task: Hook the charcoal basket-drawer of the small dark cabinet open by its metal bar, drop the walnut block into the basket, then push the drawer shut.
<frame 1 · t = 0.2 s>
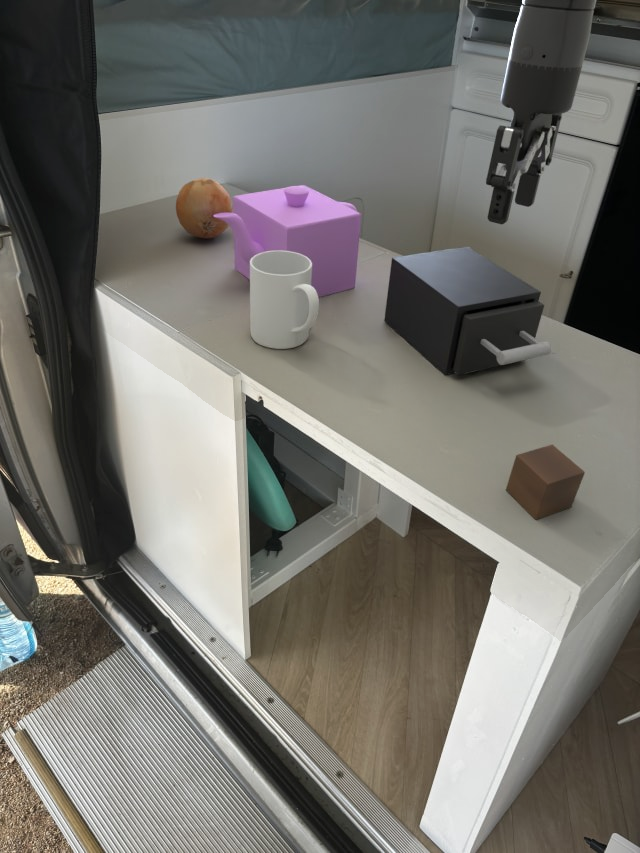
hand: (510, 213, 78), 19 cm above the table, tool pointing down, fingers open, 8 cm apart
teapot: (287, 280, 104), on the table
block: (538, 498, 65), on the table
mug: (287, 343, 88), on the table
drawer: (478, 323, 85), point 5 cm above the table, slide at 0.5 cm
onion: (206, 237, 117), on the table
cabinet: (451, 338, 91), on the table
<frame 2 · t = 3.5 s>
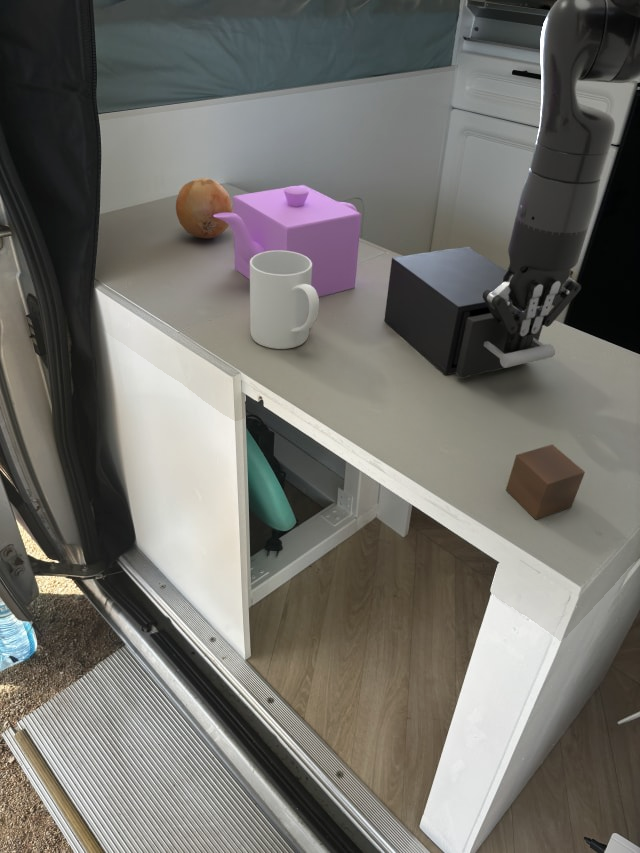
hand: (514, 357, 80), 4 cm above the table, tool pointing down, fingers closed
drawer: (481, 325, 84), point 5 cm above the table, slide at 1.2 cm, touching gripper
everything else where it was.
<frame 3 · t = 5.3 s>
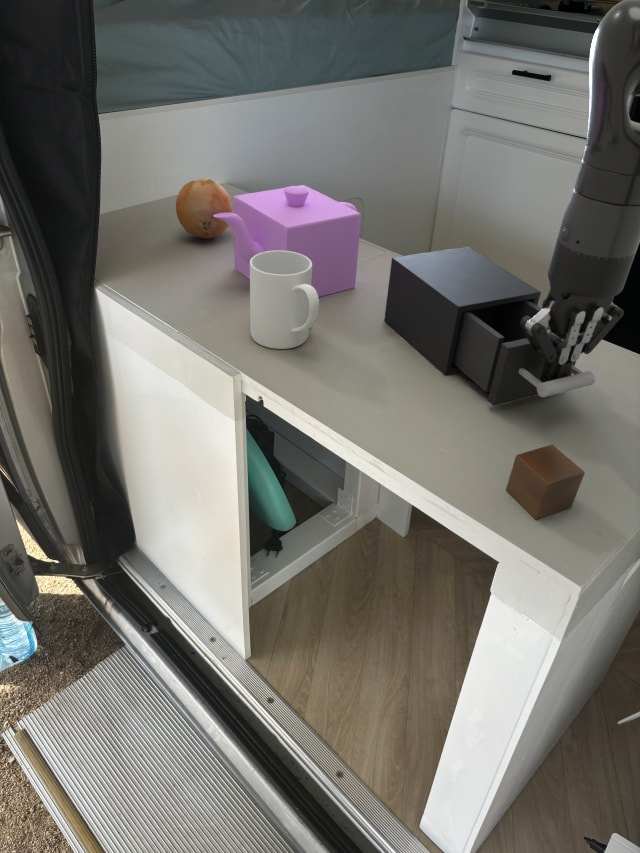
hand: (551, 386, 75), 4 cm above the table, tool pointing down, fingers closed
drawer: (513, 349, 79), point 5 cm above the table, slide at 7.7 cm
everything else where it was.
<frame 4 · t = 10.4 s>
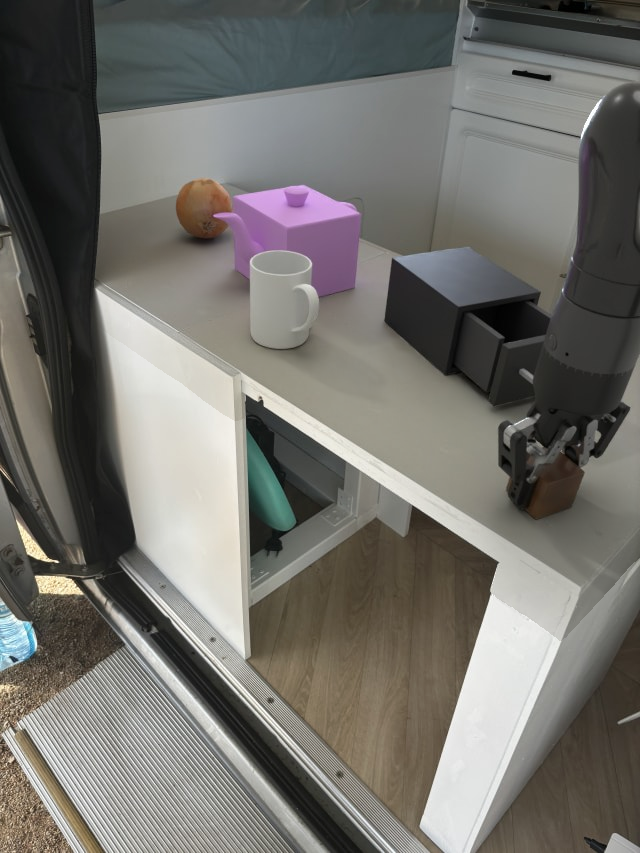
hand: (539, 495, 65), 0 cm above the table, tool pointing down, fingers closed on block, 4 cm apart
block: (538, 498, 65), on the table, touching gripper
everything else where it was.
when the fingers open (8 cm above the table, at t = 15.5 s): block drops 6 cm, resting on drawer.
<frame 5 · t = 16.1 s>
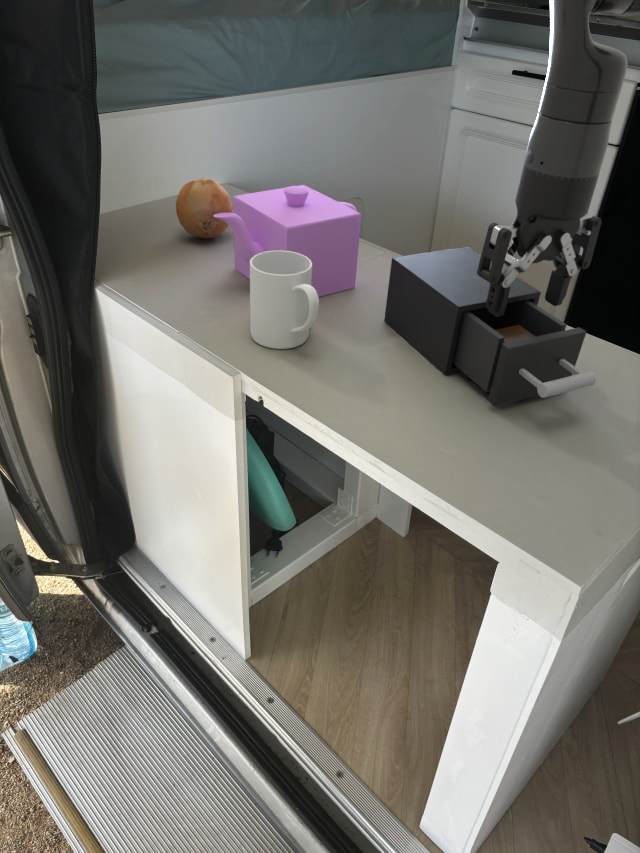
hand: (524, 308, 76), 10 cm above the table, tool pointing down, fingers open, 8 cm apart
block: (507, 368, 81), point 2 cm above the table, touching drawer
drawer: (514, 349, 79), point 5 cm above the table, slide at 7.8 cm, touching block
everything else where it was.
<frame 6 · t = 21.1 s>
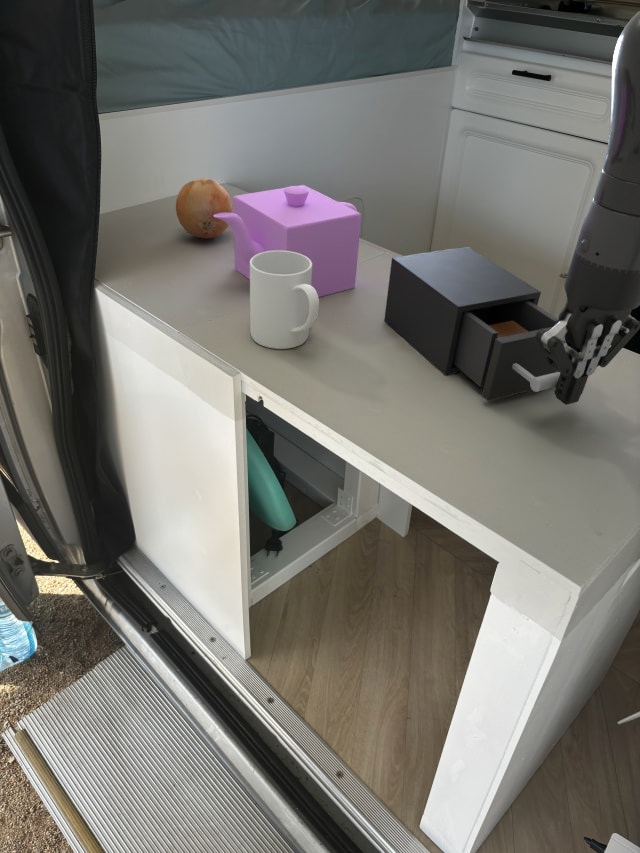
hand: (566, 399, 73), 4 cm above the table, tool pointing down, fingers closed
block: (501, 363, 82), point 2 cm above the table, touching drawer
drawer: (507, 345, 80), point 5 cm above the table, slide at 6.6 cm, touching block, gripper
everything else where it was.
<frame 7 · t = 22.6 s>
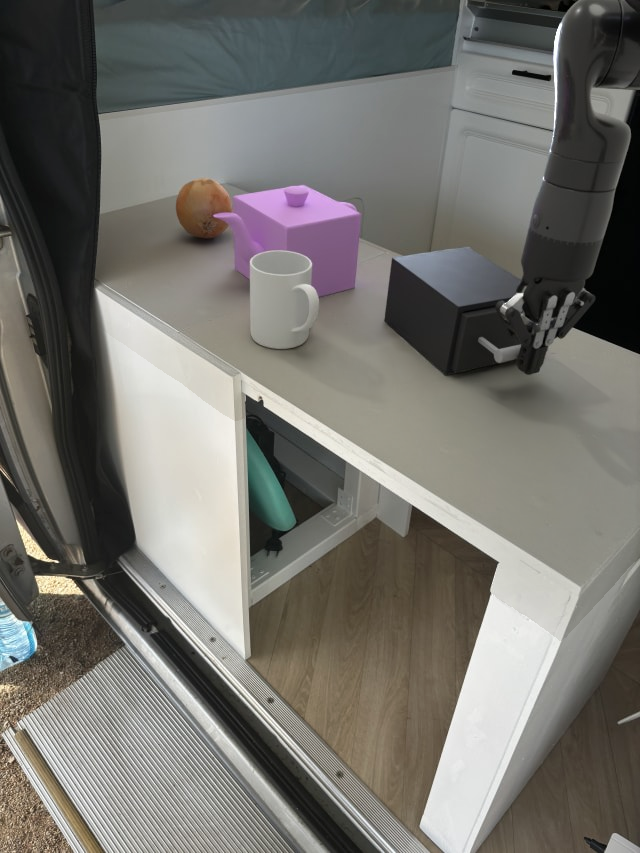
hand: (527, 370, 78), 4 cm above the table, tool pointing down, fingers closed
block: (470, 339, 87), point 2 cm above the table, touching drawer
drawer: (476, 321, 85), point 5 cm above the table, slide at 0.0 cm, touching block, cabinet, gripper
everything else where it was.
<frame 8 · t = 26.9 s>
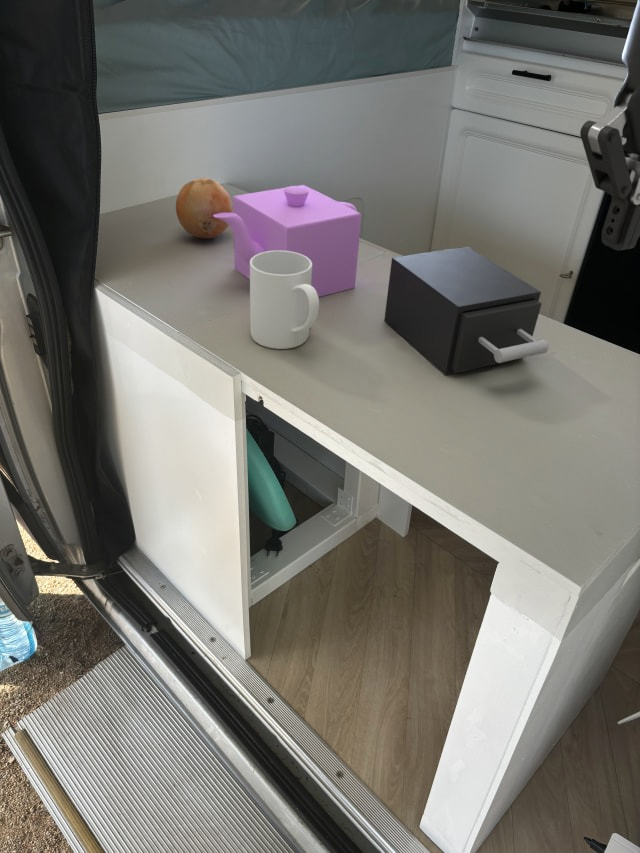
hand: (617, 246, 53), 25 cm above the table, tool pointing down, fingers closed
drawer: (476, 321, 85), point 5 cm above the table, slide at 0.0 cm, touching block, cabinet
everything else where it was.
at the end: drawer pulled out 7.8 cm at the most during the clip, back to where it started at the end; block inside the target area in the cabinet (4.0 cm from its centre), point 2.0 cm above the cabinet's base; drawer slide at 0.0 cm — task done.
